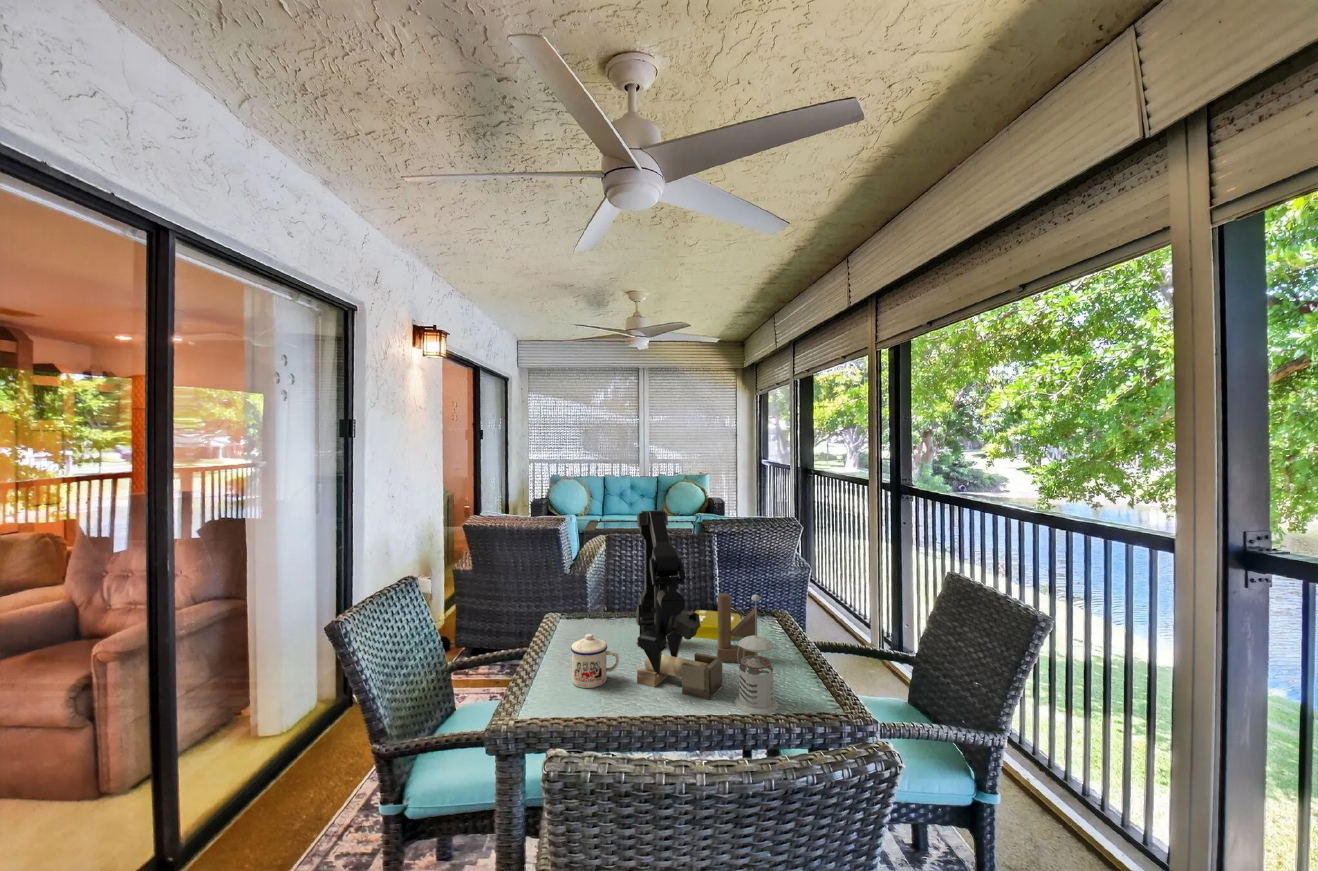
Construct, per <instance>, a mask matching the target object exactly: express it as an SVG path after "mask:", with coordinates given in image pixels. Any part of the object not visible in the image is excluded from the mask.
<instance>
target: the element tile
mask: <svg viewBox="0 0 1318 871" xmlns="http://www.w3.org/2000/svg"><path fill="white" fill-rule="evenodd" d="M694 612H695V613H697V614H699V619H700V625H701V626H700V627H699V628H698V630H697V633H696V635H695V636H693V637H692V638H698V639H707V640H714V641H715V640H716V641H718V611H715V610H714V611H713V610H706V609H705V610H703V609H697V610H695V611H694ZM740 622H741V615H740V614H739V613H736V612H735V613H734V612H731V631H732V630H733V629H734V628H735V627H736V626H737V625H738V624H739V623H740ZM735 638H736V636H731V641H733V640H734V639H735Z"/></svg>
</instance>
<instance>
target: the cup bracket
mask: <svg viewBox="0 0 1318 871" xmlns="http://www.w3.org/2000/svg"><path fill="white" fill-rule="evenodd" d="M693 655H694V656H693V658H694V661H698V662H703V663H708V664H709V665H708V666H707V667H702V666H698V665H693V664H688V663H683V664H682V678H681V694H682V695H685V696H689V697H695V698H697V699H698V698H699V699H702V700H707V701H710V700H711V699H712V698H713V696H715V695H716V693H717V692H719V690H720V689H721V688H722V687H723V686H724V685H723V680H724V679H723V662H722V657H717V655H710V654H707V653H706V654H705V653H701V652H695V653H694V654H693Z"/></svg>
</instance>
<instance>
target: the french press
mask: <svg viewBox="0 0 1318 871" xmlns="http://www.w3.org/2000/svg"><path fill="white" fill-rule="evenodd" d="M751 601H754V603H755V604H754V605H755V606H754V608H755V635H753V636H747V637H745V638H743V637H742V638H741V639H740V640H738V643H737V644H738V646H739V648H740V647H741V648H743V649H744V650H745V651H747V650H748V651H752V652H755V655H753V656H752V655H750V656H745V657H744V650H743V658H742V659H741V660H740V662H739V660H738V652H739V648H738V652H737V660H738V662H737V664H738V673H739V674H738V679H739V681H738V684H739V688H738V690H739V691H738V696H737V697H736V699H735V700H734V704H735V706H736V707H737V708H738V709H739V710H742V712H745V713H749V714H757V715H761V714H763V715H764V714H769V713H772V712H775V711H776V709H778V706H779V703H778V702H777V701H776V700H775V698H774V667H773V666H772V663H773V662H772V660H771V659H770V658H768V657H766V656H762V655H757V656H756V652H757V653H765V652H768V651H771V650H772V649H774V647H775V645H774V644H775V643H773V642H772V641H771V640H770V639H768V638H766V637H763V636H761V635H757V636H756V610H757V602H758V601H761V599H760V596H759V595H758V594H753V595H752V596H751ZM766 669H768V670H769V671H768V670H766ZM747 683H748V684H747Z"/></svg>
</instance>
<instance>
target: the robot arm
mask: <svg viewBox="0 0 1318 871" xmlns="http://www.w3.org/2000/svg"><path fill="white" fill-rule="evenodd" d="M668 519H669V518H668V512H666V511H664V510H661V509H654V510H652V509H651V510H641V512H639V513H638V514H637V516H636V523H637V524H636V525H637V527H638V531H639V533H640V534H641V537H642V538H643V539H644V589H643V591H642V593H641V594H640V596H639V603H638V604H637V605H636V612H635V616H636V617H635V619H636V623H637V626H639V636H637V639H636V640H637V642H636V645H637V647H638V648H640V649H641V650H643V652H644V653H645V655H646V656H647V657H648V659H649V661H650V663H651V665H652V667H653V669H654V671H655V672H656V673H659V672H660V666H661V656H662V654H663V652H664V651H665V650H667V645H668V648H669V653H670V656H673V657H678V655H679V651H680V647H681V645H682V641H683V639H686V640H688V641H690V640H692V639H693V638H694V637H693V636H695V635H696V633H697V630H698V628H699V627H700V626H701V625H700V619H699V614H697V613H695V611H693V612H692V613H691V614H684V613H682V612H683V610H684V608H685V605H686V601H685V600H686V599H685V598H684V596H683V595H682V593H681V592H680V591H679V585H684V584H685V579H686V573H685V572H686V571H685V567H684V562H683V561H682V558H681V557H680V556H679V554H678V551H677V548H675V547H674V546H673V545H671V542H670V537H669V534H668V529H667V526H668V525H669V521H668Z"/></svg>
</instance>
